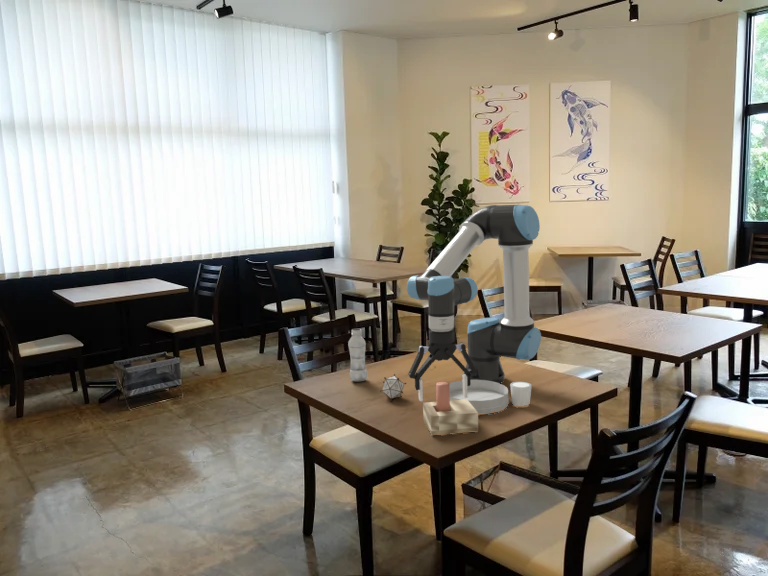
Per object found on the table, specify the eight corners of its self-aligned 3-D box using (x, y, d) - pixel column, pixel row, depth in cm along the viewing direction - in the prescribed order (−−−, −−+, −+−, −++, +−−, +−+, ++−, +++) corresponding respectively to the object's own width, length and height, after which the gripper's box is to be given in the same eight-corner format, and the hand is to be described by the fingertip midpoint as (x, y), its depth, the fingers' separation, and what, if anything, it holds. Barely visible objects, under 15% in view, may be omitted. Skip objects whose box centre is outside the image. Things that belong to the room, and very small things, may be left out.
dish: (478, 388, 219) (478, 375, 218) (523, 406, 200) (523, 391, 199) (428, 402, 207) (428, 387, 206) (471, 421, 189) (471, 406, 188)
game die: (392, 406, 214) (396, 379, 218) (409, 403, 208) (412, 375, 212) (373, 399, 209) (377, 371, 213) (389, 395, 203) (393, 367, 207)
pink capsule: (448, 419, 186) (447, 381, 184) (451, 424, 182) (450, 385, 180) (435, 420, 185) (434, 382, 184) (438, 425, 182) (437, 386, 180)
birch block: (467, 417, 191) (467, 399, 190) (478, 432, 179) (477, 412, 178) (423, 421, 189) (422, 402, 188) (431, 436, 178) (431, 416, 177)
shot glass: (519, 410, 196) (519, 389, 195) (505, 403, 202) (505, 383, 201) (536, 405, 199) (536, 385, 198) (522, 399, 205) (522, 379, 204)
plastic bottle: (367, 383, 228) (365, 331, 225) (349, 384, 228) (346, 331, 225) (368, 378, 234) (366, 327, 231) (350, 378, 235) (348, 328, 231)
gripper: (401, 334, 174) (404, 405, 177) (486, 329, 177) (487, 398, 180) (397, 328, 181) (399, 397, 185) (479, 323, 184) (479, 390, 188)
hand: (443, 398), depth 183 cm, fingers open, 13 cm apart
